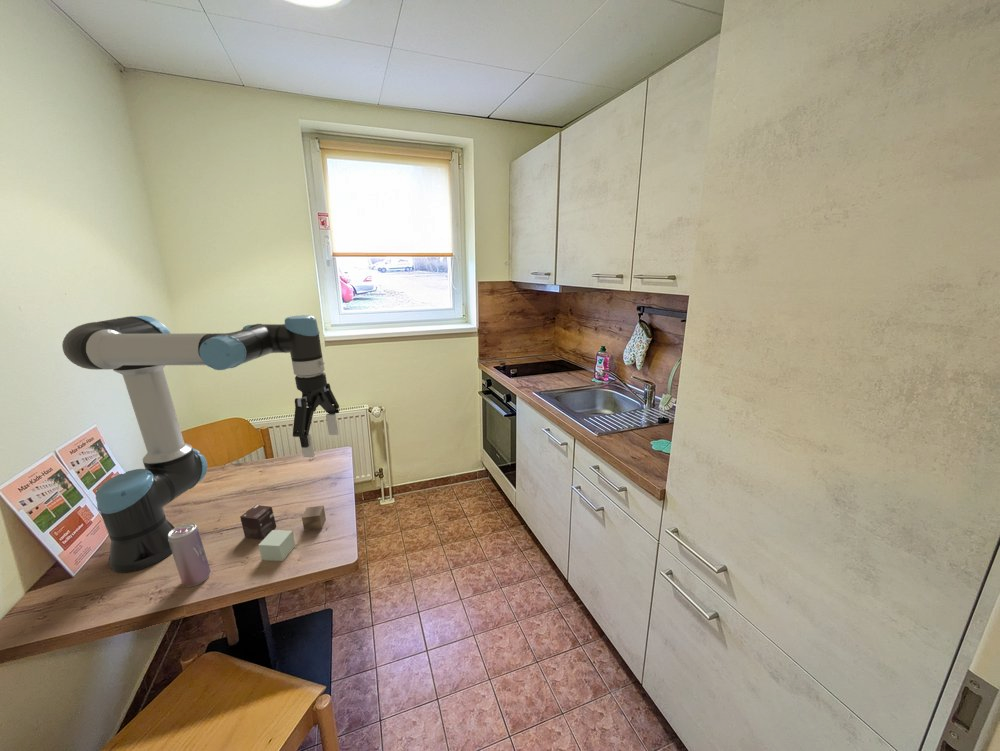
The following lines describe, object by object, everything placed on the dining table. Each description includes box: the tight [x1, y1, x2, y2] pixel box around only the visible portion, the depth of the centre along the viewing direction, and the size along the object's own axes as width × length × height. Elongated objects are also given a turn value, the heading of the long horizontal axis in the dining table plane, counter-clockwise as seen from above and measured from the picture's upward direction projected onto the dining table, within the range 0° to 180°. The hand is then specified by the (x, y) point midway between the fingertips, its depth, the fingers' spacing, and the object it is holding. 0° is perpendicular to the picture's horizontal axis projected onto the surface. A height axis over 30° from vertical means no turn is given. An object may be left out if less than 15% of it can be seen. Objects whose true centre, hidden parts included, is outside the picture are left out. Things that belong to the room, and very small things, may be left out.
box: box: [239, 504, 277, 540], centre depth 116 cm, size 6×6×7 cm
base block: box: [258, 529, 296, 562], centre depth 108 cm, size 6×6×5 cm
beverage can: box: [168, 522, 211, 588], centre depth 98 cm, size 6×6×15 cm
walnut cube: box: [301, 505, 327, 532], centre depth 119 cm, size 5×5×5 cm
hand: (322, 445), depth 111 cm, fingers open, 13 cm apart
